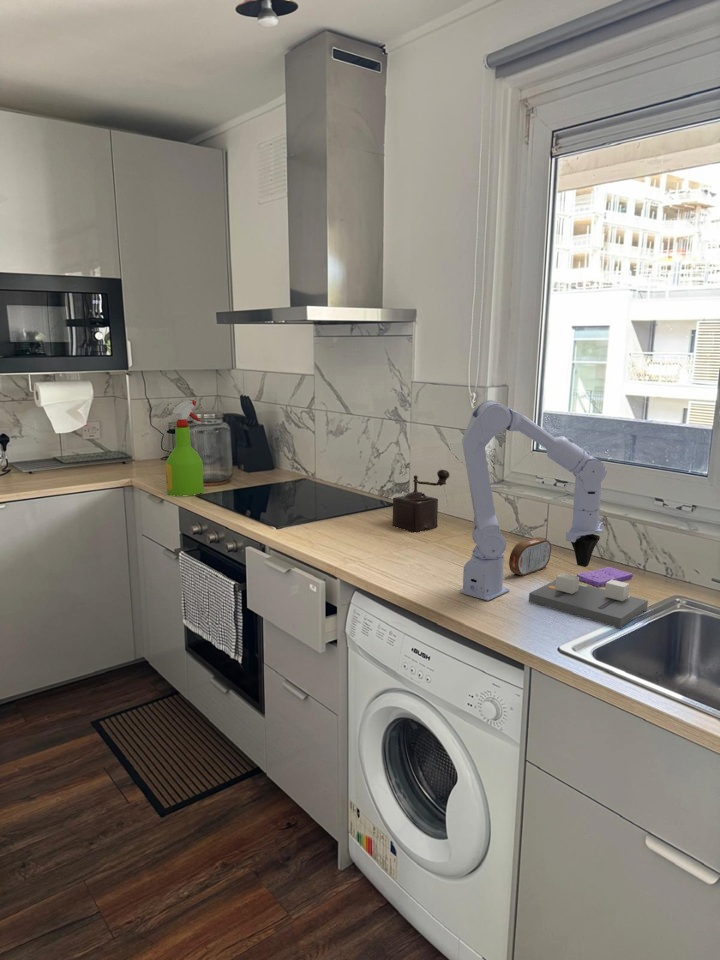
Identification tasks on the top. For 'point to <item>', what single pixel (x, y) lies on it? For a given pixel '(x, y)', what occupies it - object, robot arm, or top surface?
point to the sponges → (604, 576)
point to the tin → (530, 556)
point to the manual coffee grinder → (417, 507)
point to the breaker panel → (589, 604)
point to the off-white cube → (567, 583)
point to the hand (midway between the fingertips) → (582, 565)
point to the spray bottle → (184, 457)
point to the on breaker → (617, 590)
